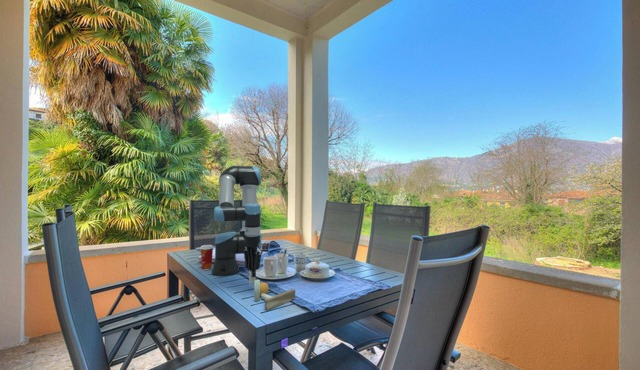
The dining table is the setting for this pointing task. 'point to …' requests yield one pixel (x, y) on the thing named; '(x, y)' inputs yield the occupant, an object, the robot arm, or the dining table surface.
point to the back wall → (279, 299)
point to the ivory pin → (265, 296)
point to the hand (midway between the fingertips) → (252, 283)
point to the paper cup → (206, 256)
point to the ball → (263, 288)
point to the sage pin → (256, 290)
